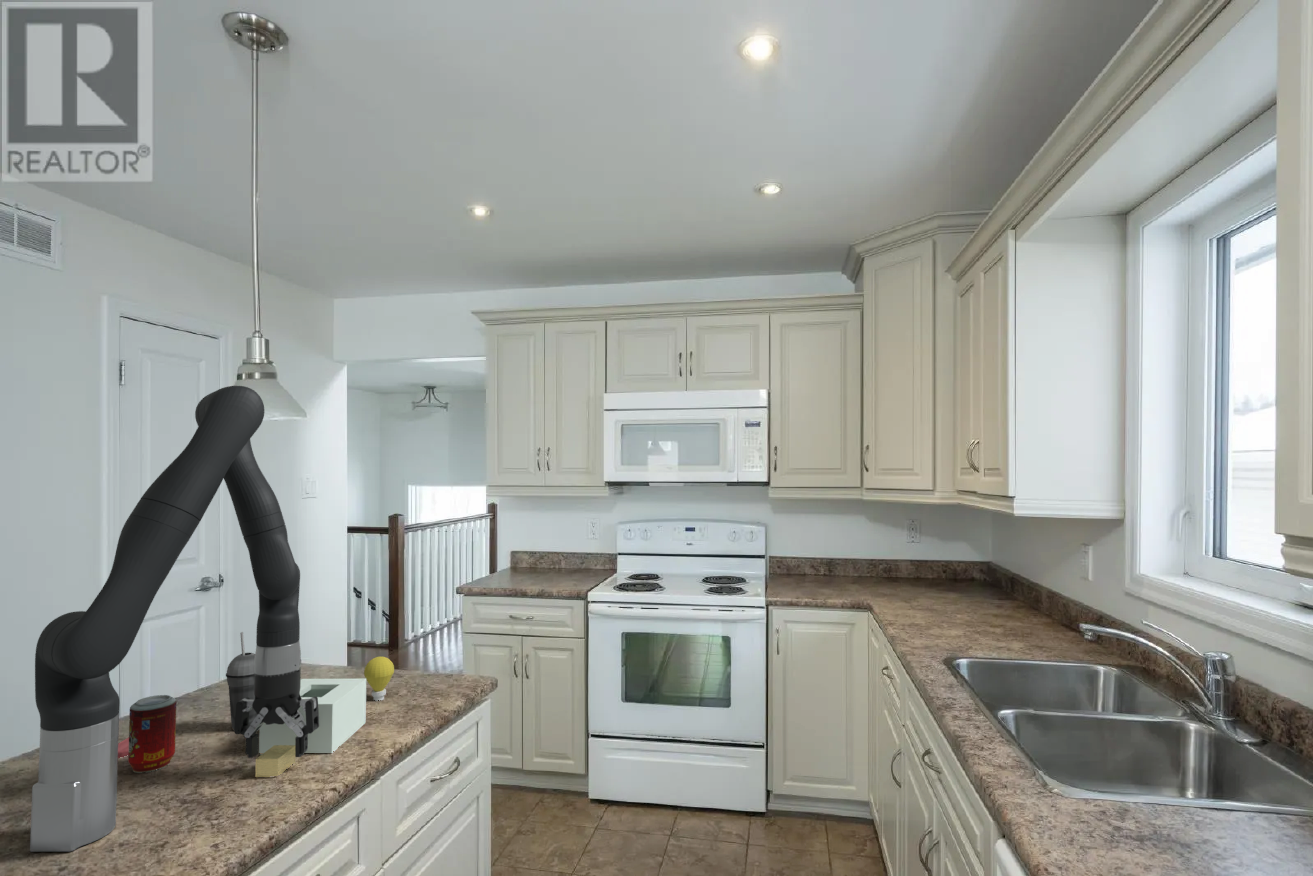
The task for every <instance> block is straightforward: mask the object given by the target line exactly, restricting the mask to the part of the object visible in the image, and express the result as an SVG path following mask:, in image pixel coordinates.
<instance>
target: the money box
mask: <svg viewBox="0 0 1313 876" xmlns="http://www.w3.org/2000/svg"><path fill="white" fill-rule="evenodd" d="M314 696H316V697H317V698H318V711H319V727H318V728H317V729H316V730H314V731H313V732H312V733H311V734H308V748H307V751H306V752H305V753H332V754H333V753H334V752H335V751H336V750H337V749H339V748H340V747H341V746H342V745H343V744H344V743H346V741H347V740H348V739H350V737H352V736H353V735H354V734H355V733H356V732H357V731H359V729H361V728H362V726H364V725H365V724H366V723H367V722H366V721H367V720H366V718H367V717H366V716H367V680H366V678H365V677H364V678H301V684H300V697H301V698H302V699H310V698H312V697H314ZM298 710H299V712H300V713H301V714H302V716H303V717H304V721H305V722H306V712H305V711H303V707H302V706H300V708H299V709H298ZM292 719H293V720H295V719H294V717H292ZM296 737H297V735H296V734H295V732H294V731H293V730H292V729H290V728H289V727H288V726H287V725H286V723H284V724H275V723H274V724H270V725H266V723H264V724H263V725H262V726H261V727H260V729H259V750H258V754H259V753H265V752H266V751H267V750H269V749H270V748H271V747H273V746H274V745H295V738H296ZM339 746H340V747H339ZM338 747H339V748H338ZM333 751H334V752H333Z"/></svg>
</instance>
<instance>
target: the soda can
mask: <svg viewBox="0 0 1313 876" xmlns="http://www.w3.org/2000/svg"><path fill="white" fill-rule="evenodd" d="M128 717H129V724H128V737H129V752H128V756H127V757H128V758H127V760H128V761H127V762H128V764H129V766H130V767H131V768H132V772H134V773H137V774H143V773H142V772H146V773H151V771H152V772H155V771H154V770H156V769H159V770H162V769H164V768H166V767H167V766H166V765H168V766H169V765H170V764H171V761H172V759H173V757H174V755H175V753H176V728H177V699H176V698H175V697H174V696H171V695H168V694H161V695H160V694H159V695H152V696H150V695H149V696H147V697H143V698H141V699H138V700H137V701H136V702H134V703H133V704H132V705H130V707H129V716H128ZM165 766H166V767H165ZM161 768H162V769H161ZM156 771H157V770H156Z"/></svg>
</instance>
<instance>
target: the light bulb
mask: <svg viewBox="0 0 1313 876" xmlns="http://www.w3.org/2000/svg"><path fill="white" fill-rule="evenodd" d="M363 671H364V672H363V675H364V679H365V678H366V683H368V684H369V686H370V687H371V688H372V690H371V696H372V697H373V699H372V700H373V701H374V700H375V701H374V702H380V700H381V701H384V700H385V695H386V694H387V689H386V687H387V685H389V683H390V681H391V680H392V677H393V675H394V673H395V665H394V663H393V662H392V661H391V660H390V658H388V657H385V656H376V657H374V658H372V659H370V660H369V661H368V662H367V663H366V665H365V667H364V670H363ZM378 700H379V701H378Z"/></svg>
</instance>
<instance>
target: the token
mask: <svg viewBox="0 0 1313 876" xmlns="http://www.w3.org/2000/svg"><path fill="white" fill-rule="evenodd" d="M293 763H295V764H296V757H295V745H274V746H273V747H271V748H270V749H269V750H267V751H266V752H265V753H263V754H259V756H258V757H256V758H255V770H254V771H255V777H270V776H278V775H280V774H282V773H283V772H284V771H285V770H286V769H287V768H289V767H290V765H292V764H293ZM290 768H291V767H290ZM290 768H289V769H290ZM286 771H287V770H286ZM286 771H285V772H286ZM285 772H284V773H285ZM284 773H283V774H284ZM283 774H282V775H283ZM280 776H281V775H280Z"/></svg>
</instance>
